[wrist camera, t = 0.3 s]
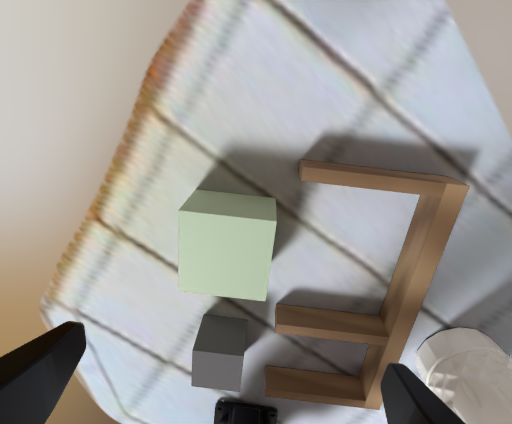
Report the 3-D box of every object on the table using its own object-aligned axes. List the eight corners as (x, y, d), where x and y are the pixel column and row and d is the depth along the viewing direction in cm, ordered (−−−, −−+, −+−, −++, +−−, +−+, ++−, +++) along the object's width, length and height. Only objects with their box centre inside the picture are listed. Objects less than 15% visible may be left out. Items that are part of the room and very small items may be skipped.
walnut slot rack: (370, 384, 28) (379, 409, 26) (264, 372, 28) (264, 395, 26) (447, 176, 20) (469, 186, 18) (300, 159, 20) (303, 166, 18)
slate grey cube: (243, 351, 27) (239, 391, 23) (202, 346, 27) (191, 385, 23) (247, 319, 26) (243, 356, 22) (203, 314, 26) (192, 350, 22)
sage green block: (266, 265, 24) (265, 301, 19) (194, 257, 24) (178, 291, 19) (275, 197, 21) (276, 221, 17) (196, 188, 21) (178, 210, 17)
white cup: (439, 396, 28) (522, 544, 19) (390, 353, 26) (455, 492, 17) (516, 356, 26) (656, 503, 16) (468, 305, 24) (595, 437, 15)
